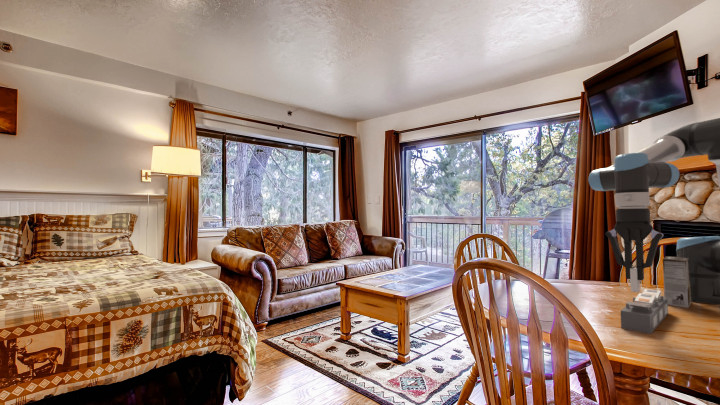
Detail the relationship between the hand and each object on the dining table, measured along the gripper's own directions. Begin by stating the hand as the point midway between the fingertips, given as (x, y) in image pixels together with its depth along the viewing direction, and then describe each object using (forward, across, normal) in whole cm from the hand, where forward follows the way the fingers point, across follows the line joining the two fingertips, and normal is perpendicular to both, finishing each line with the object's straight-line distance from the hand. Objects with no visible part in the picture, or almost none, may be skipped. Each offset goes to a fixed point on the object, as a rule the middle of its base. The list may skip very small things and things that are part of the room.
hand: (635, 291), depth 94 cm
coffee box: (+11, +4, +42) cm, 44 cm away
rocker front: (+5, 0, +3) cm, 6 cm away
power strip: (+11, 0, +12) cm, 16 cm away
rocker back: (+5, 0, +20) cm, 21 cm away
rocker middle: (+5, 0, +12) cm, 13 cm away
